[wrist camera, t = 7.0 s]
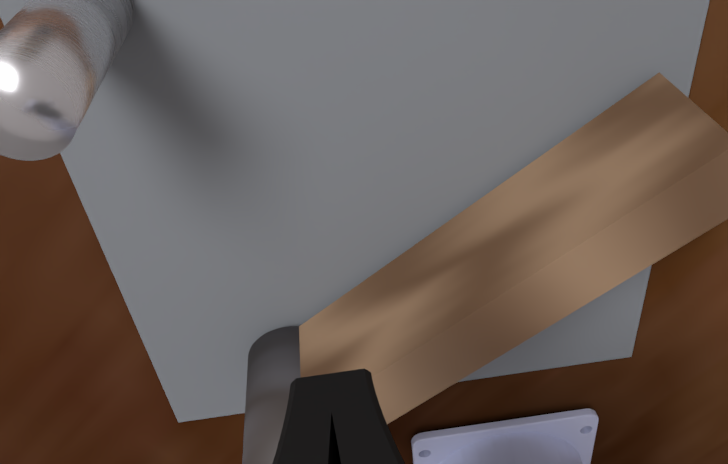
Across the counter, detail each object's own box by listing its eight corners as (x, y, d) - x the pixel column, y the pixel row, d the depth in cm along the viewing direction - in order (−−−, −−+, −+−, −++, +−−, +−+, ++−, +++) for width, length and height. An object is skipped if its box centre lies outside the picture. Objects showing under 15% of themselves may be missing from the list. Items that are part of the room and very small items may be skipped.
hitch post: (146, 35, 17) (93, 152, 12) (68, 46, 17) (-17, 167, 12) (121, -47, 16) (50, 48, 11) (37, -36, 16) (-71, 64, 11)
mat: (628, 351, 26) (631, 356, 26) (179, 416, 26) (178, 422, 26) (762, -282, 14) (771, -283, 14) (-77, -176, 14) (-84, -175, 14)
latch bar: (291, 399, 25) (294, 555, 20) (229, 359, 23) (215, 518, 19) (695, 133, 20) (828, 259, 15) (650, 56, 18) (783, 172, 13)
